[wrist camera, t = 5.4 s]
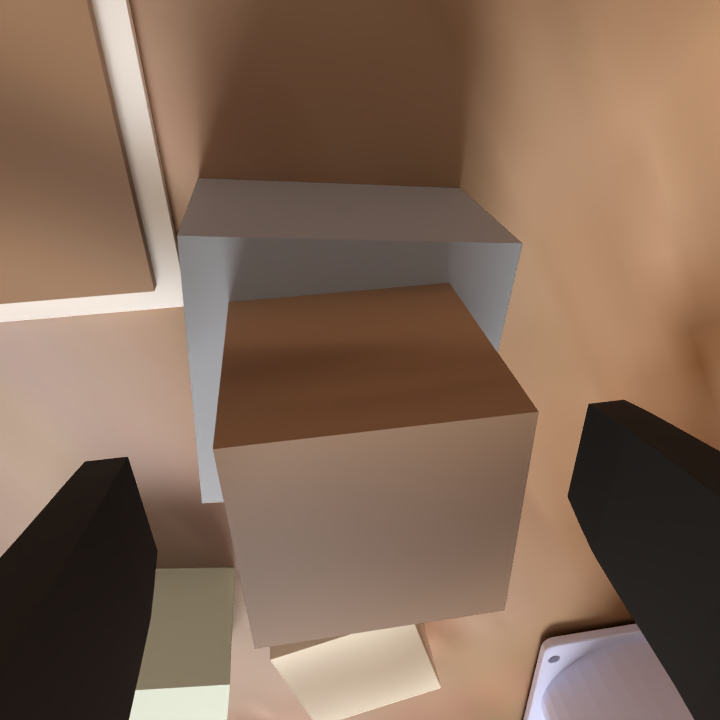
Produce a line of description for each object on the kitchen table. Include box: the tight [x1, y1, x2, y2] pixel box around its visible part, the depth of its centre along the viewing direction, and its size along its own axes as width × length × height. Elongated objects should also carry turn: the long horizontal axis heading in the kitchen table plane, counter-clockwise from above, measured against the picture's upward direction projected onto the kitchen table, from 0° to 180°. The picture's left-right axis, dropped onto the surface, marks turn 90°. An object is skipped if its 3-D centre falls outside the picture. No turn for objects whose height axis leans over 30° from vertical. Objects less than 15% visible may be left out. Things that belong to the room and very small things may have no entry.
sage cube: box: [129, 568, 234, 720], centre depth 18 cm, size 4×4×4 cm
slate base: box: [177, 178, 522, 503], centre depth 13 cm, size 6×6×4 cm
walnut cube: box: [213, 283, 538, 649], centre depth 10 cm, size 4×4×4 cm
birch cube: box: [270, 623, 441, 720], centre depth 18 cm, size 4×4×4 cm
